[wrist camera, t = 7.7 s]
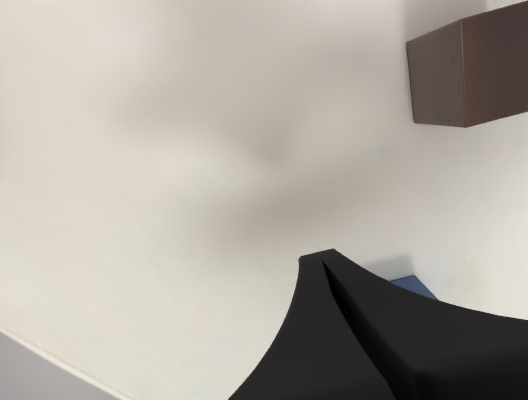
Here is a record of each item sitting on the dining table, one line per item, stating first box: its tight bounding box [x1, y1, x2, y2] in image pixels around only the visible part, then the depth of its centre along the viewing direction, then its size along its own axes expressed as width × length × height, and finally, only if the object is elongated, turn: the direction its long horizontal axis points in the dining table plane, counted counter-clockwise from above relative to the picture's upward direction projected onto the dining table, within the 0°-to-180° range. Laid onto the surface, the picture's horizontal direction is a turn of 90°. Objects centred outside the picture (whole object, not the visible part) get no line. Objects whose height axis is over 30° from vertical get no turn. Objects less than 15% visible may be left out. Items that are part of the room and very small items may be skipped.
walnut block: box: [407, 1, 528, 128], centre depth 15 cm, size 4×4×4 cm
